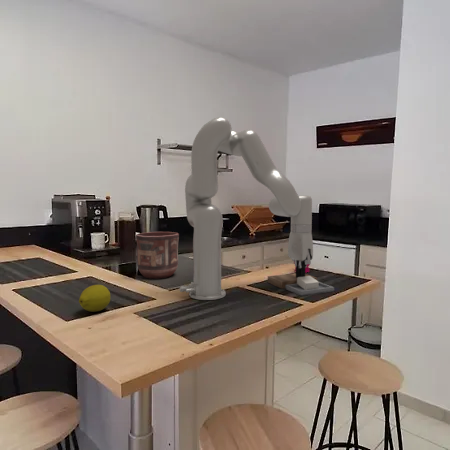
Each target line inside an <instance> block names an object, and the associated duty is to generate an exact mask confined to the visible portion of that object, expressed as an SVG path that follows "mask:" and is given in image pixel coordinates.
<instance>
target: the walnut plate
mask: <svg viewBox="0 0 450 450" xmlns="http://www.w3.org/2000/svg"><path fill="white" fill-rule="evenodd" d="M305 276H311V277H312V278H314V279H315V280H317V281H318V277H316V276H313V275H310V274H308V273H305ZM267 283H268V284H269V285H270V284H271V286H272V285H273V286H275V287H277V288H279V289H285V285H289V284H297V278H296V272H294V273H285V274H278V275H277V274H276V275H269V276H267Z"/></svg>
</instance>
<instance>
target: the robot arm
mask: <svg viewBox="0 0 450 450" xmlns="http://www.w3.org/2000/svg"><path fill="white" fill-rule="evenodd" d="M232 128H233V127H232V125H231V123H230V120H228V119H227V118H225V117H220V116H219V117H214V118H212V119H211V120H209V121H208V122H207V123H205V124H204V125H203V126H202V127H201V128H200V129H199V130H198V132H197V134H196V136H195V137H194V140H193V143H192V146H191V147H192V148H191V152H190V153H191V154H190V155H191V157H190V158H191V159H190V162H191V163H190V164H191V174H190V175H189V176H188V177H187V179H186V180H185V181H186V182H185V186H184V187H185V189H184V193H185V194H184V196H185V210H186V211H185V212H186V219H187V221H188V223H189V226H191V227H193V235H192V236H193V239H192V252H193V255H192V260H193V261H192V263H193V281H190V284H188V285H181V286H179V292H180V293H186V294H187V293H188V296H189V297H190V298H192V299H194V300H200V301H213V300H214V301H215V300H219V299H222V298H224V297H226V294H227V293H226V292H227V291H226V290H224V289H222V232H223V224H224V223H223V222H224V220H223V219H224V218H223V213H222V212H221V210H220V209H219V208H218V207H217V206H216V205H214V204H213V203H212V198H214V197H215V196H216V195H217V193H218V190H219V182H218V166H217V164H218V153H219V152H221V153H225V154H228V155H231V156H234V157H241V158H242V160H243V161H244V163H245V165H246V166H247V168H248V170H249V172H250V173H251V175H252V177H253V178H254V179H255V180H256V181H257V182H258V183H260V184H261V185H264V187H266V188H267V189H269V191H270V192H271V193H272V194H273V197H272V198H271V199H270V200H269V203H268V209H269V211H270V213H271V214H273V215H275V216H279V217H285V218H286V217H287V218H290V233H289V237H288V244H287V245H288V246H287V256H288V257H289V259H290V260H291V261H293V263H294V262H295V264H294V268H295V267H296V272H295V273H296V278H298V277H304V276H305V274H306V273H305V268H306V267H307V264H310V265H311V264H312V263H311V261H312V259H313V257H314V243H313V234H312V230H313V229H312V226H313V225H312V224H313V223H312V222H313V221H312V220H313V216H312V215H313V199H312V197H311V196H309V195H299V194H298V192H297V191H296V189H295V187H294V185H293V184H292V182H291V181H290V180H289V179H288V177H286V175H285V174H284V173H283V172H282V171H281V170H279V168H278V167H277V166H276V165H275V163H274V162H273V159H272V157H271V156H270V154H269V151H268V150H267V148H266V147H265V144H264V142H263V141H262V139H261V137H260V135H259V134H258V133H257V132H256V131H255V130H253V129H246V130H242V131H239V132H237V131H233V130H232Z"/></svg>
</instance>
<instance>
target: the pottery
mask: <svg viewBox="0 0 450 450" xmlns="http://www.w3.org/2000/svg"><path fill="white" fill-rule="evenodd" d="M179 239H180V233H178V232H176V231H175V232H174V231H173V232H172V231H150V232H149V231H147V232H141V233H137V234H136V235H135V240H136V250H137V251H136V252H137V253H136V254H137V260H136V261H137V269H138V271H139V273H140V274H141V275H142V276H143V278H146V279H152V280H154V279H155V280H158V279H159V280H160V279H166V278H170V277H172V276H173V275H174V274H175V273H176V271H177V269H178V267H179V255H178V254H179V252H178V251H179V250H178V249H179Z"/></svg>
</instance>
